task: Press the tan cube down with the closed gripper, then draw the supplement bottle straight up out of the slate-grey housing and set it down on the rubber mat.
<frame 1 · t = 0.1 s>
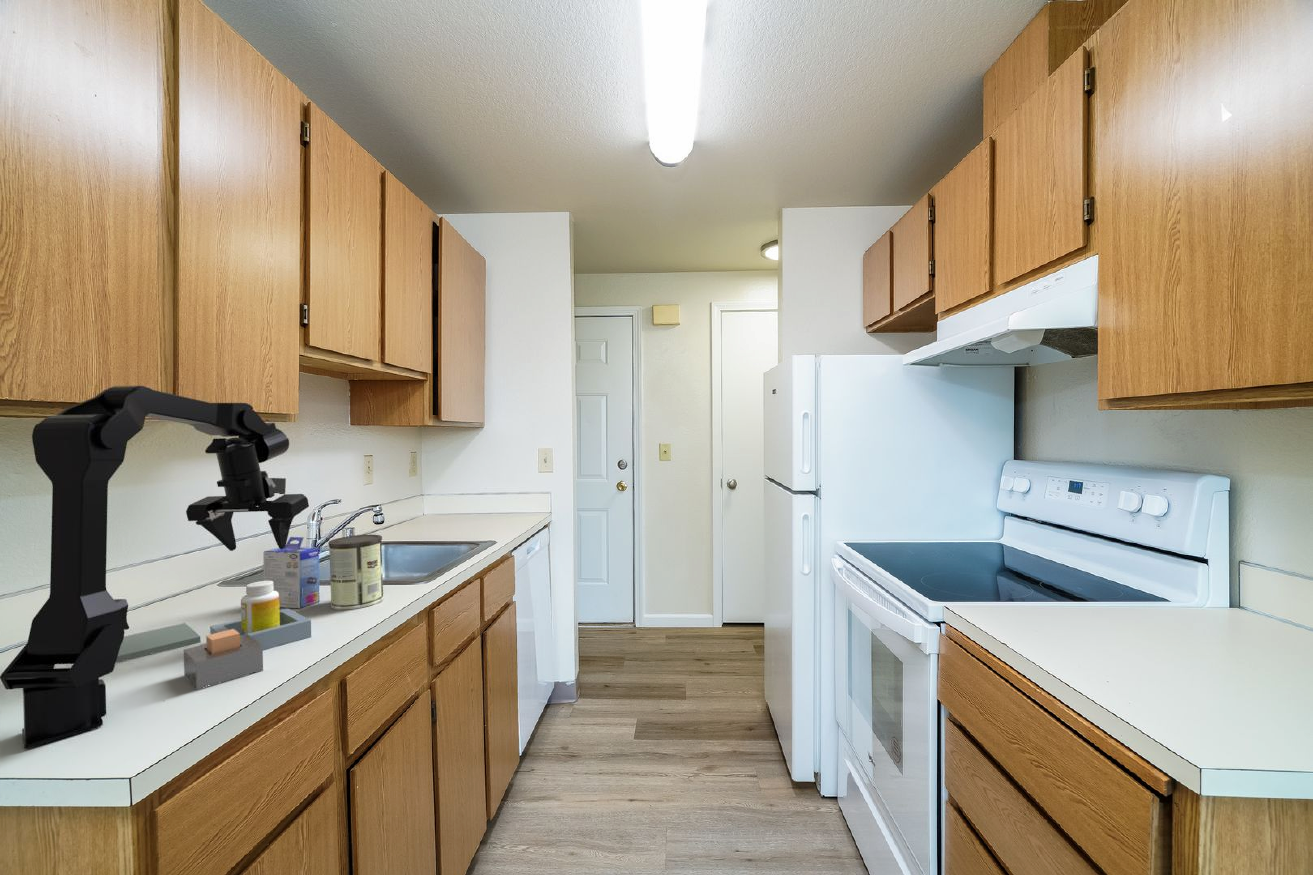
hand: (258, 549, 102), 15 cm above the countertop, tool pointing down, fingers open, 9 cm apart
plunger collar: (224, 672, 83), on the countertop
housing: (261, 639, 97), on the countertop
coffee can: (357, 603, 118), on the countertop
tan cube: (223, 643, 83), point 5 cm above the countertop, slide at 0.0 cm
mat: (148, 644, 96), on the countertop
supplement bottle: (261, 640, 97), resting in housing
ink cartridge box: (292, 605, 118), on the countertop
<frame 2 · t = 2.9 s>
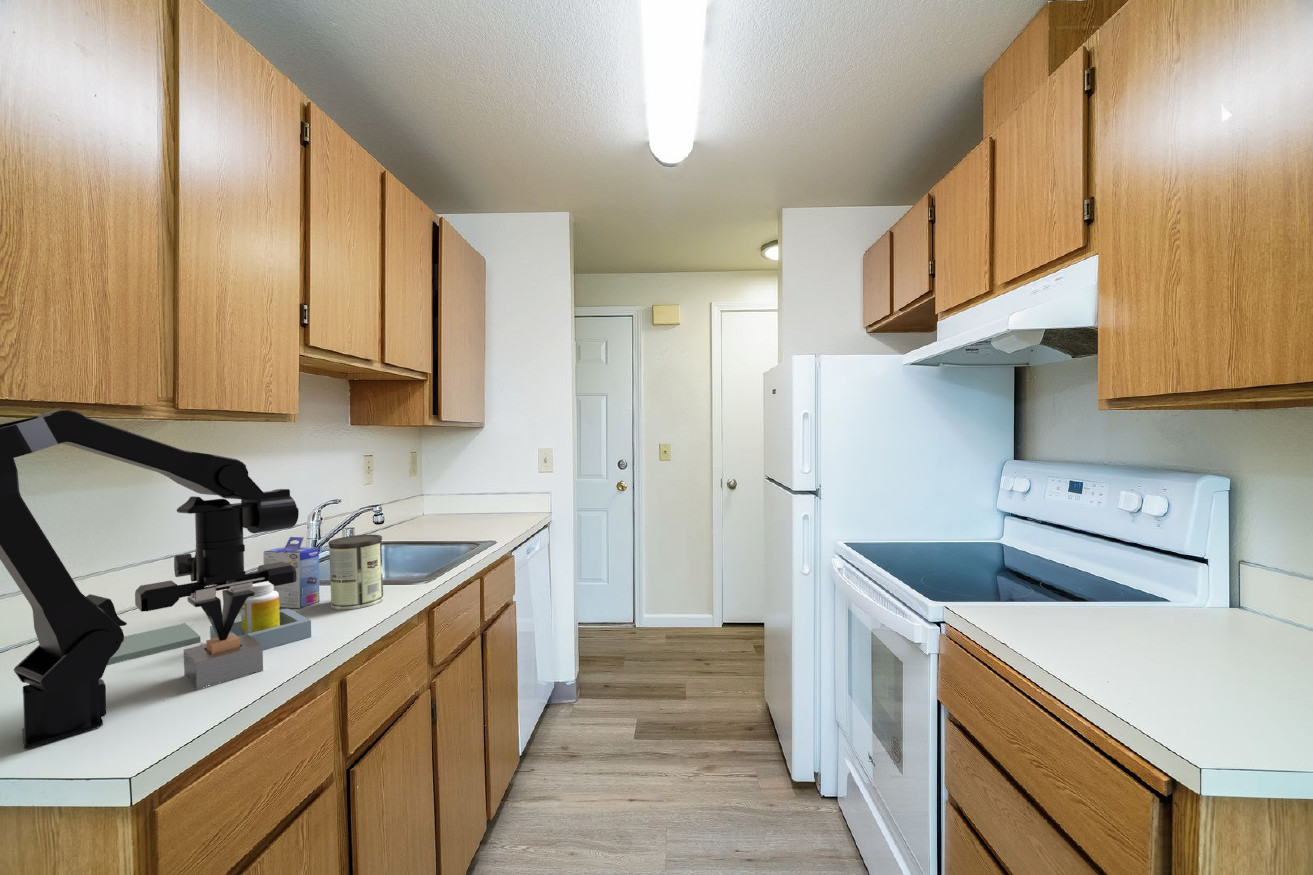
hand: (222, 639, 83), 5 cm above the countertop, tool pointing down, fingers closed, pressing on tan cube
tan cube: (223, 648, 83), point 4 cm above the countertop, slide at 0.8 cm, touching gripper
everything else where it was.
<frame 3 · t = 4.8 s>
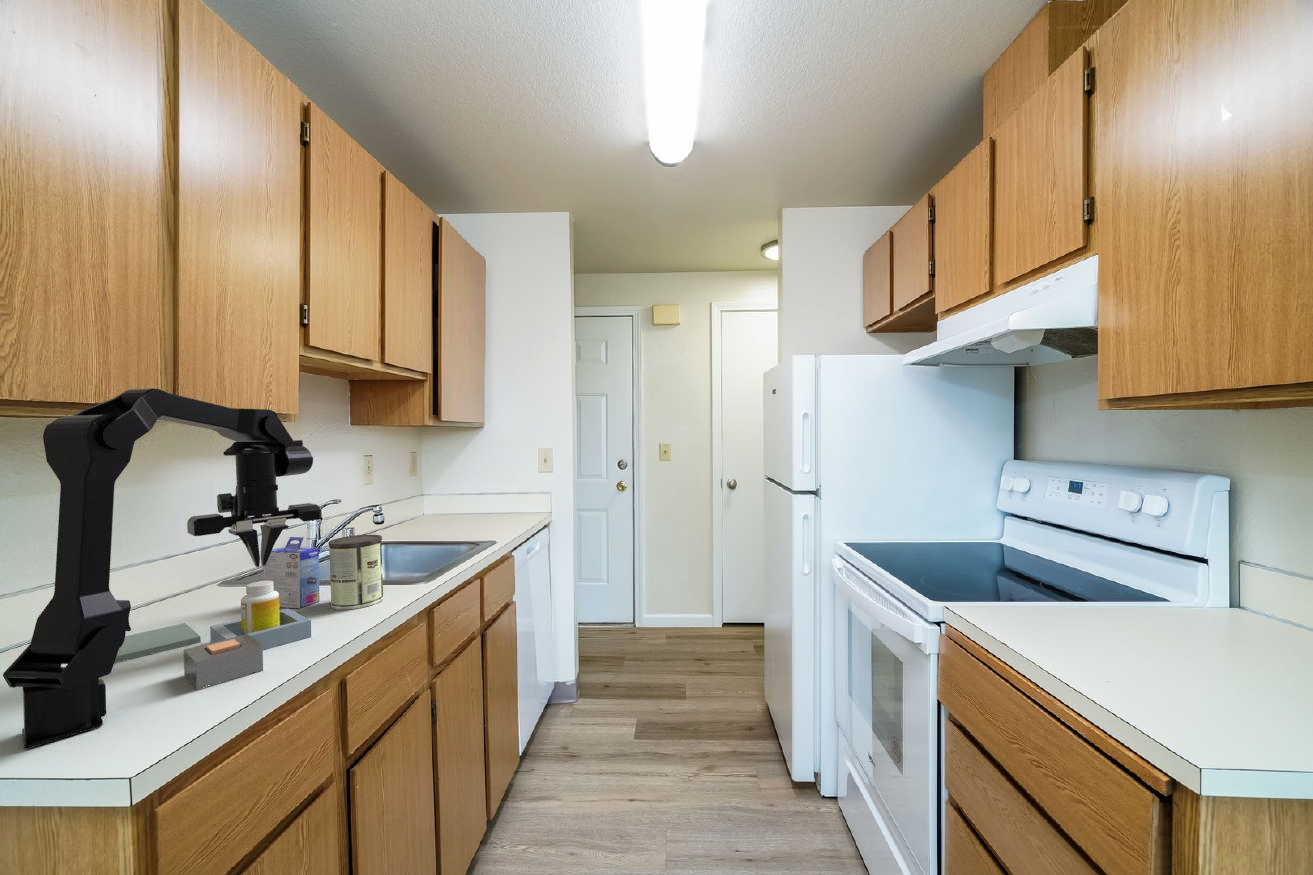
hand: (260, 565, 97), 13 cm above the countertop, tool pointing down, fingers closed
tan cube: (223, 654, 83), point 3 cm above the countertop, slide at 1.6 cm
everything else where it was.
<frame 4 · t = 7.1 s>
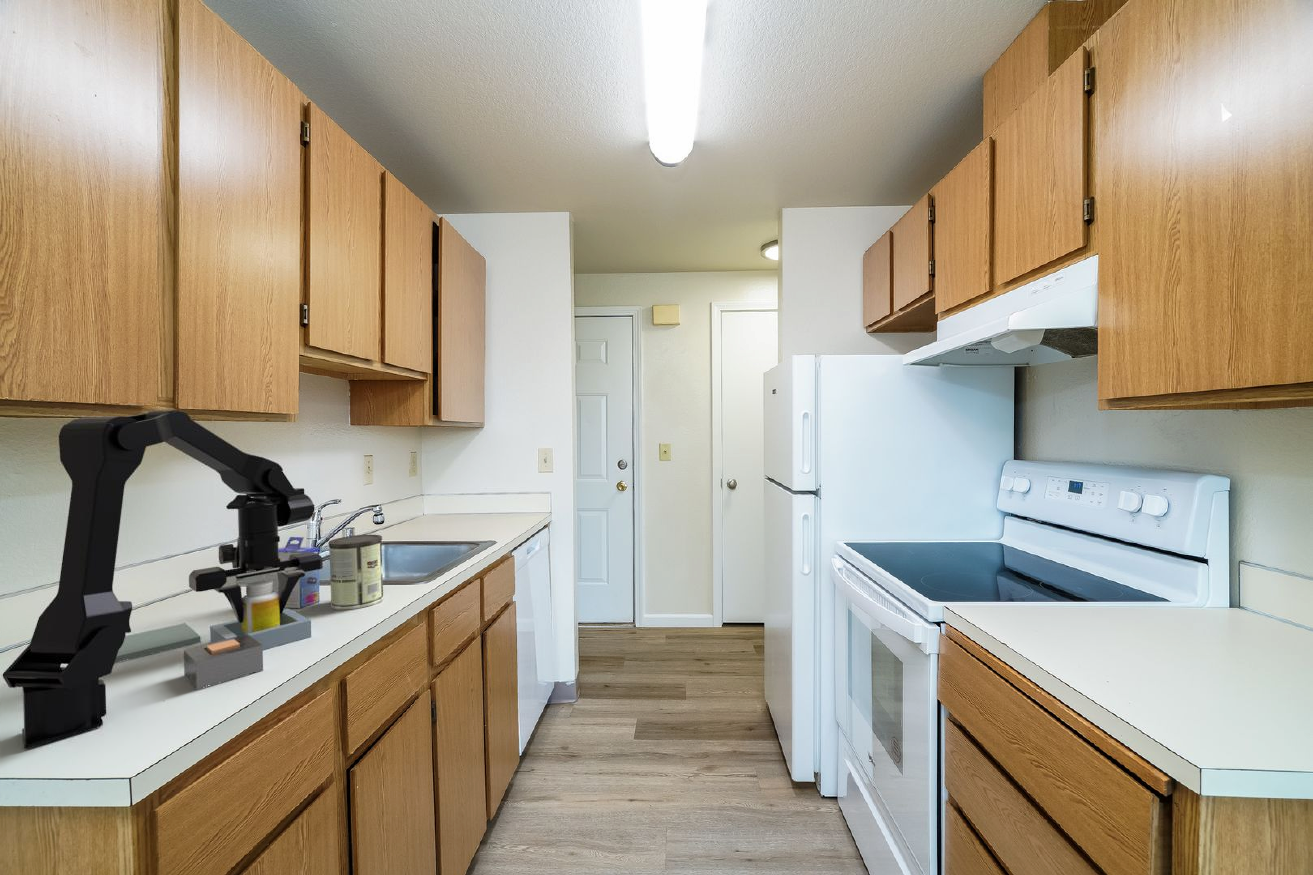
hand: (260, 617, 97), 4 cm above the countertop, tool pointing down, fingers closed on supplement bottle, 6 cm apart
supplement bottle: (261, 640, 97), resting in housing, touching gripper
everything else where it was.
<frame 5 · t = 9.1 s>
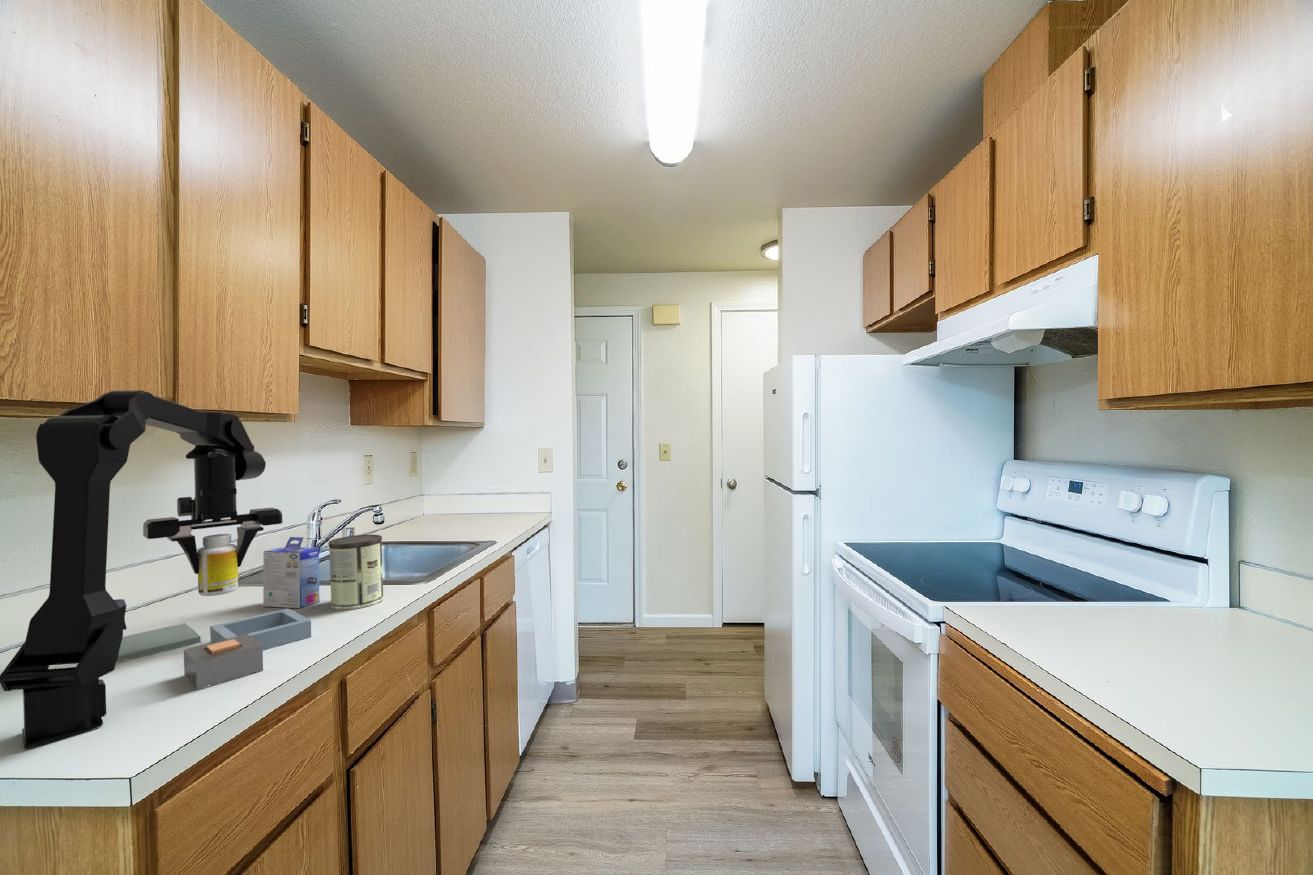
hand: (217, 570, 96), 13 cm above the countertop, tool pointing down, fingers closed on supplement bottle, 6 cm apart
supplement bottle: (218, 593, 96), point 9 cm above the countertop, touching gripper
everything else where it was.
when the fingers open (6 cm above the countertop, at t = 11.4 s): supplement bottle drops 1 cm, resting on mat.
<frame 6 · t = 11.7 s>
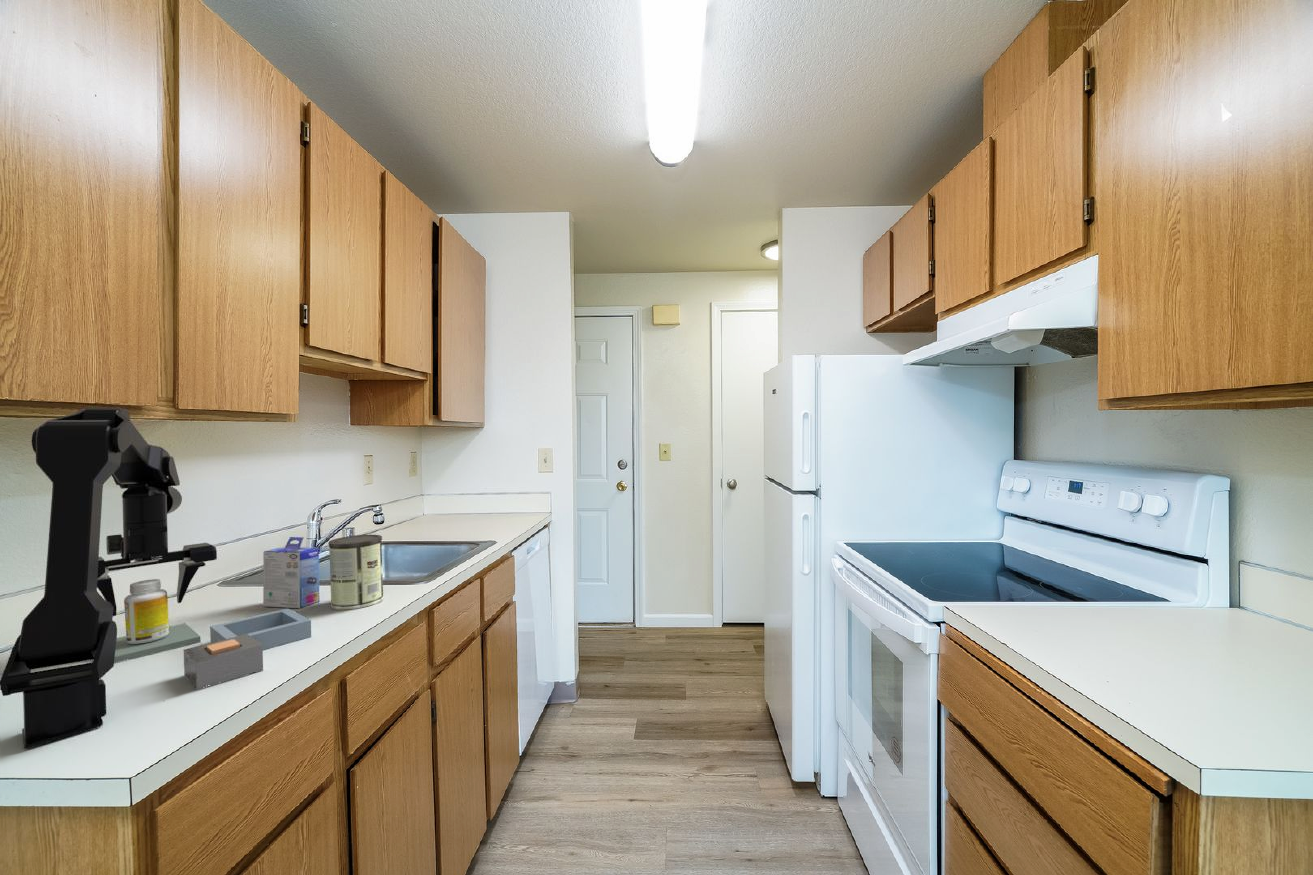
hand: (147, 608, 96), 6 cm above the countertop, tool pointing down, fingers open, 8 cm apart
supplement bottle: (148, 640, 96), point 1 cm above the countertop, touching mat
everything else where it was.
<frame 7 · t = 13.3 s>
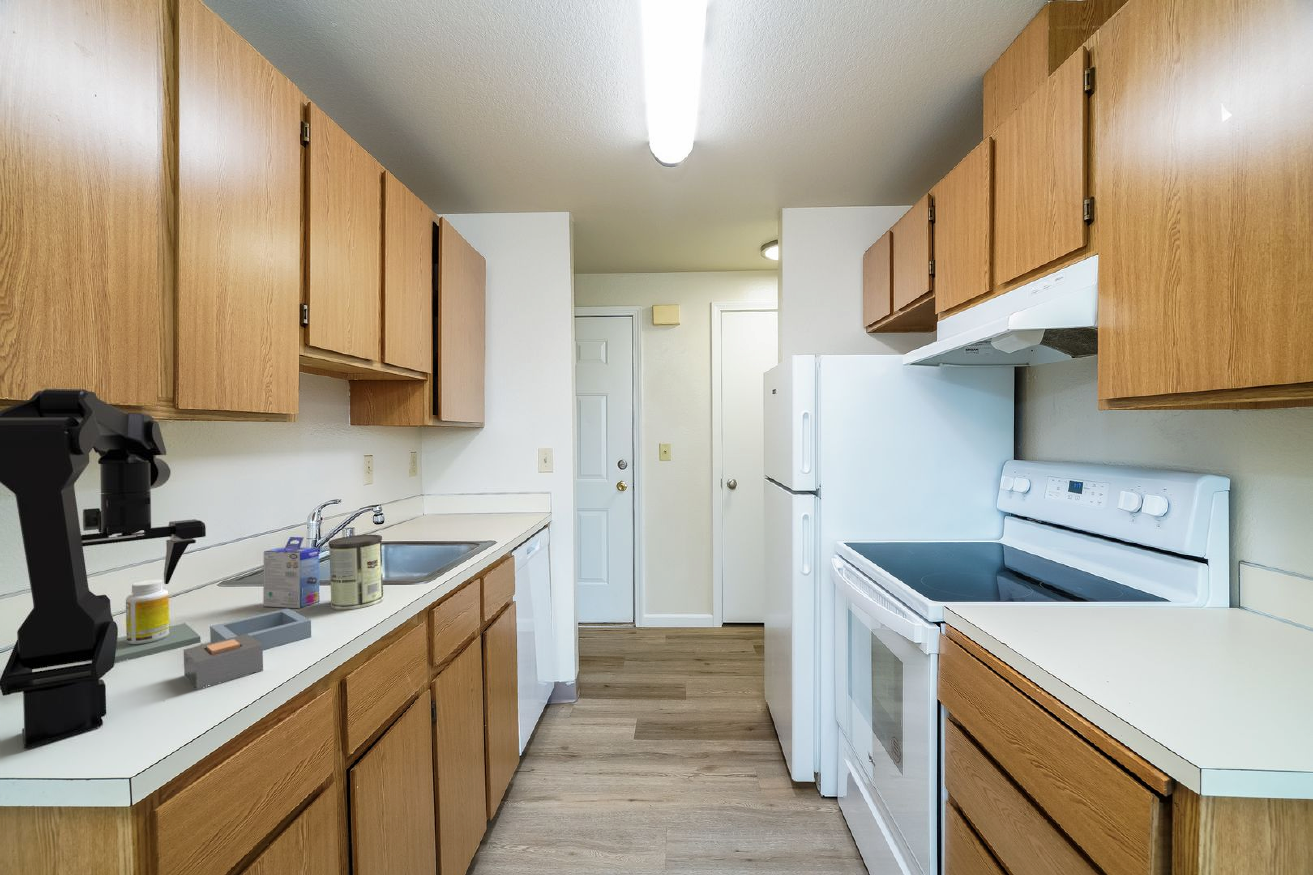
hand: (127, 590, 86), 13 cm above the countertop, tool pointing down, fingers open, 9 cm apart
nothing on the countertop moved.
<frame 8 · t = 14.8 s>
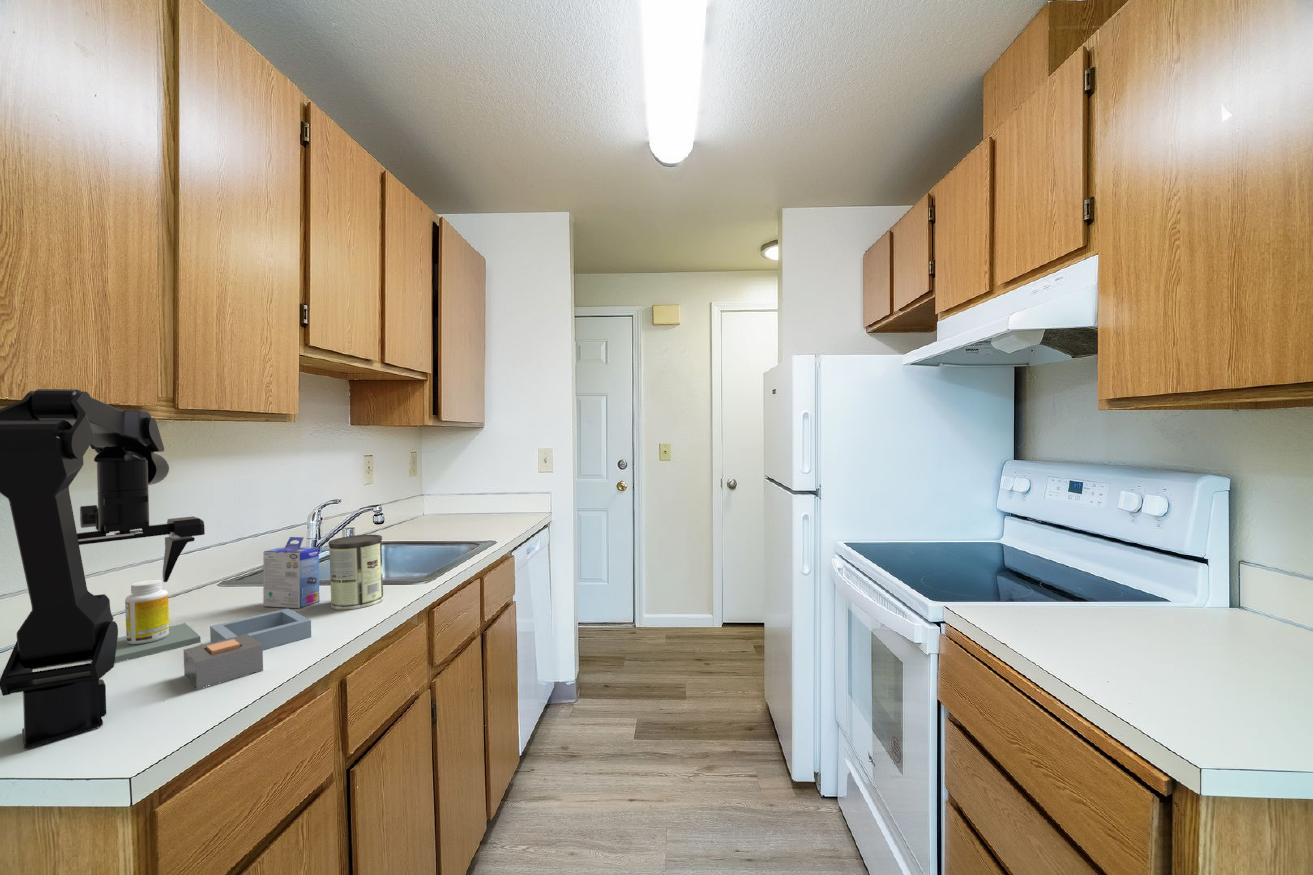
hand: (126, 588, 85), 13 cm above the countertop, tool pointing down, fingers open, 9 cm apart
nothing on the countertop moved.
at the end: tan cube slide at 1.6 cm; supplement bottle inside the target area on the mat (0.0 cm from its centre), point 0.8 cm above the mat's base; supplement bottle tilted 0° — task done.
